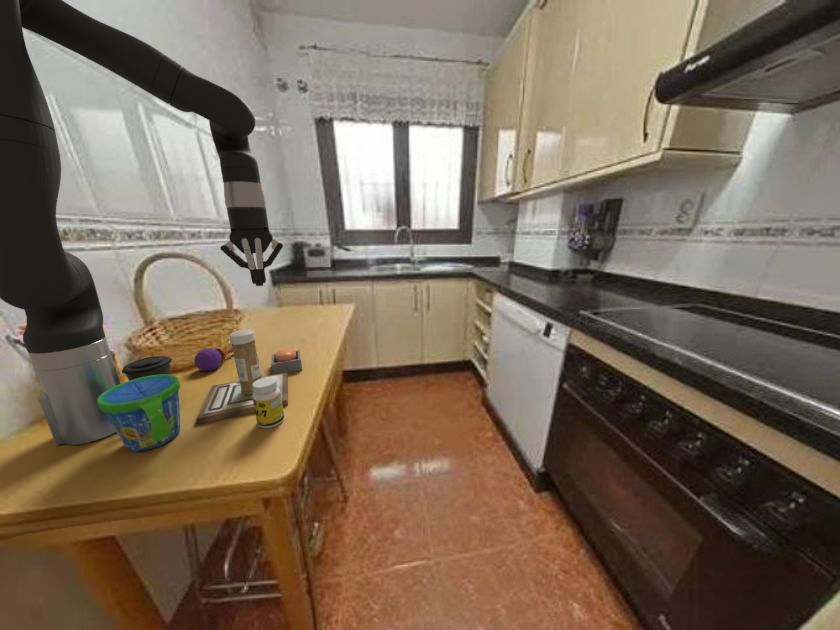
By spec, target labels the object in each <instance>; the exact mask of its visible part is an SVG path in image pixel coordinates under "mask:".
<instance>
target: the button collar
mask: <svg viewBox="0 0 840 630" xmlns="http://www.w3.org/2000/svg"><path fill="white" fill-rule="evenodd" d="M300 350H301V349H299V350H295V351H296V358H297V359H295V360H289V361H283V362H277V363H276V358H275V354H276V353H274V354H271V361H270V367H271V373H272V374H271V375H276V374H281V373H287V374H288V373H294V372H300V371H303V366H302V358H301V351H300Z"/></svg>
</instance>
